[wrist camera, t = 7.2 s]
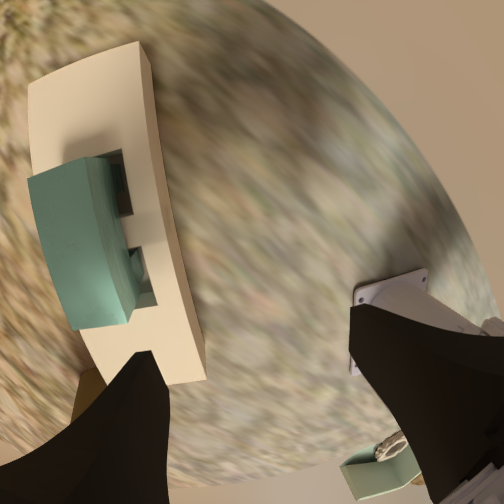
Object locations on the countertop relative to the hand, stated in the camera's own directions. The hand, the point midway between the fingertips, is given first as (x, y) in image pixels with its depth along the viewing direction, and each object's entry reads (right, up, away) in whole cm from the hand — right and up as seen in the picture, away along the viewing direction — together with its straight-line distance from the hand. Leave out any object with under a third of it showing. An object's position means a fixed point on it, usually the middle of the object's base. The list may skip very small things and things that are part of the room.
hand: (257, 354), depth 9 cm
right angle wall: (+21, -27, +23) cm, 41 cm away
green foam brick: (-8, +5, +5) cm, 11 cm away
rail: (-9, +5, +7) cm, 13 cm away
